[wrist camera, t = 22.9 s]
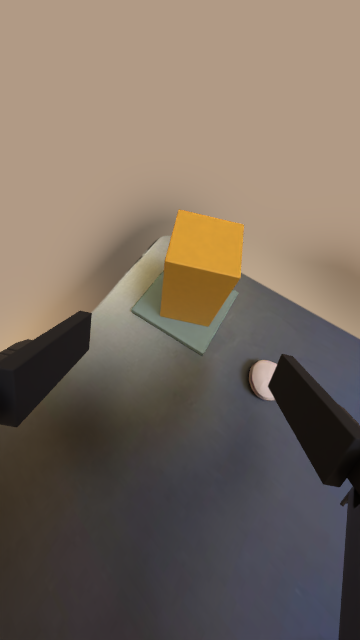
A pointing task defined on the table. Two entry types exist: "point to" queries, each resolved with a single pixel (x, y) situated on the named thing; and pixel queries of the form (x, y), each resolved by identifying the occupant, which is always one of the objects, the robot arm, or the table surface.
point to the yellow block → (200, 267)
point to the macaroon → (262, 378)
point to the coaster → (179, 330)
